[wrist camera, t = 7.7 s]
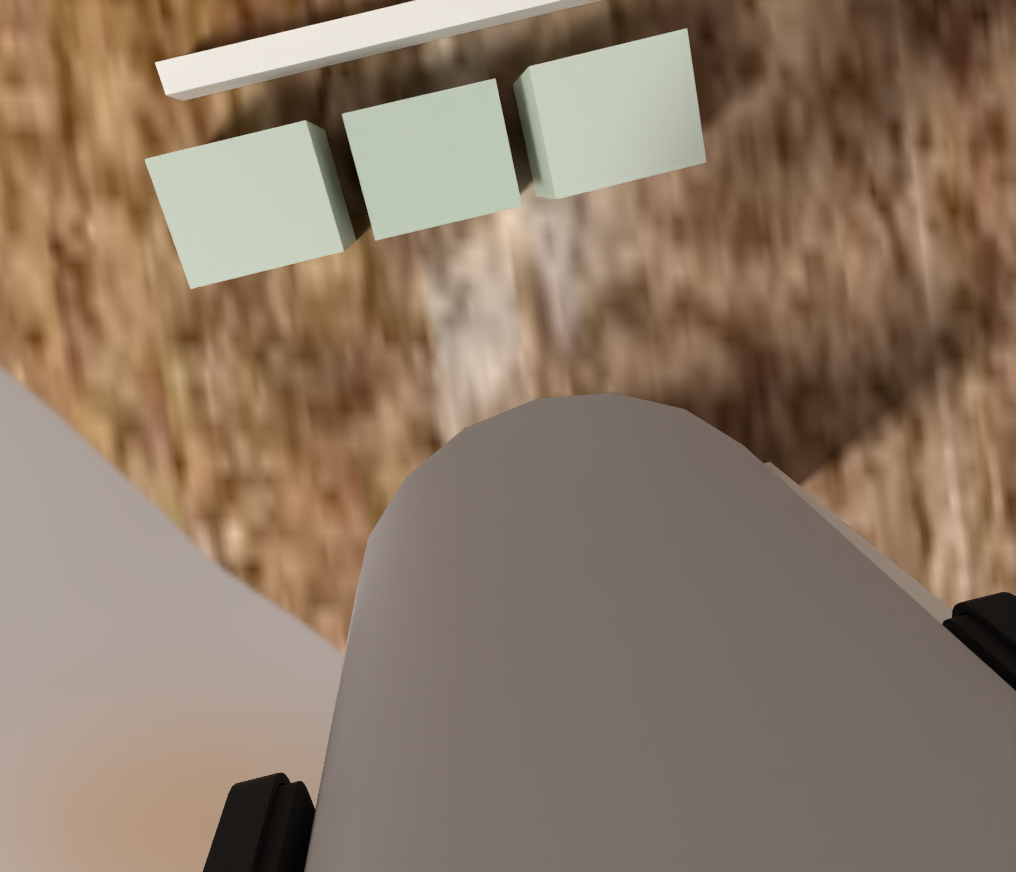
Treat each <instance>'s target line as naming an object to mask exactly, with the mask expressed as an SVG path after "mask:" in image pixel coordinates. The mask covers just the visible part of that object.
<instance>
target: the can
mask: <svg viewBox="0 0 1016 872" xmlns="http://www.w3.org/2000/svg"><path fill="white" fill-rule="evenodd" d="M304 872H1016V691H1015V690H1014V689H1013V688H1012V687H1011V686H1010V685H1008V684H1007V683H1006V682H1005V681H1004V680H1003V679H1002V678H1001V677H1000V676H998V675H997V674H996V673H995V672H994V671H993V670H992V669H991V668H990V667H989V666H987V665H986V664H985V663H984V662H983V661H982V660H981V659H980V658H979V657H977V656H976V655H975V654H974V653H973V652H972V651H971V650H970V649H969V648H967V647H966V646H965V645H964V644H963V643H962V642H961V641H960V640H959V639H957V638H956V637H955V636H954V635H953V634H952V633H951V632H950V631H949V630H948V629H946V628H945V627H944V626H943V625H942V624H941V623H940V622H939V621H938V620H936V619H935V618H934V617H933V616H932V615H931V614H930V613H929V612H928V611H926V610H925V609H924V608H923V607H922V606H921V605H920V604H919V603H918V602H916V601H915V600H914V599H913V598H912V597H911V596H910V595H909V594H908V593H907V592H905V591H904V590H903V589H902V588H901V587H900V586H899V585H898V584H897V583H895V582H894V581H893V580H892V579H891V578H890V577H889V576H888V575H887V574H885V573H884V572H883V571H882V570H881V569H880V568H879V567H878V566H877V565H875V564H874V563H873V562H872V561H871V560H870V559H869V558H868V557H867V556H866V555H864V554H863V553H862V552H861V551H860V550H859V549H858V548H857V547H856V546H854V545H853V544H852V543H851V542H850V541H849V540H848V539H847V538H846V537H844V536H843V535H842V534H841V533H840V532H839V531H838V530H837V529H836V528H834V527H833V526H832V525H831V524H830V523H829V522H828V521H827V520H826V519H825V518H823V517H822V516H821V515H820V514H819V513H818V512H817V511H816V510H815V509H813V508H812V507H811V506H810V505H809V504H808V503H807V502H806V501H805V500H803V499H802V498H801V497H800V496H799V495H798V494H797V493H796V492H795V491H793V490H792V489H791V488H790V487H789V486H788V485H787V484H786V483H785V482H784V481H782V480H781V479H780V478H779V477H778V476H777V475H776V474H775V473H774V472H772V471H771V470H770V469H769V468H768V467H767V466H766V465H765V464H764V463H762V462H761V461H760V460H759V459H758V458H757V457H756V456H755V455H754V454H752V453H751V452H750V451H749V450H748V449H747V448H746V447H745V446H744V445H742V444H740V443H739V442H737V441H735V440H734V439H732V438H731V437H729V436H727V435H726V434H724V433H723V432H721V431H719V430H718V429H716V428H715V427H713V426H711V425H710V424H708V423H707V422H705V421H703V420H702V419H700V418H698V417H697V416H695V415H694V414H692V413H690V412H689V411H687V410H686V409H682V408H678V407H674V406H669V405H665V404H661V403H656V402H652V401H647V400H643V399H639V398H634V397H630V396H626V395H621V394H617V393H602V394H591V395H579V396H568V397H556V398H545V399H535V400H533V401H531V402H528V403H526V404H523V405H521V406H518V407H516V408H513V409H511V410H509V411H506V412H504V413H501V414H499V415H496V416H494V417H491V418H489V419H487V420H484V421H482V422H479V423H477V424H474V425H472V426H469V427H467V428H464V429H463V430H462V431H461V432H460V433H458V434H457V435H456V436H455V437H454V438H452V439H451V440H450V441H449V442H448V443H446V444H445V445H444V446H443V447H441V448H440V449H439V450H438V451H437V452H435V453H434V454H433V455H432V456H431V457H429V458H428V459H427V460H426V461H425V462H423V463H422V464H421V465H420V466H419V467H417V468H416V469H415V470H414V471H413V472H411V473H410V474H409V475H408V476H407V477H406V478H405V480H404V481H403V483H402V484H401V486H400V488H399V489H398V491H397V492H396V494H395V496H394V497H393V499H392V500H391V502H390V504H389V505H388V507H387V508H386V510H385V512H384V513H383V515H382V516H381V518H380V520H379V521H378V523H377V524H376V526H375V528H374V529H373V531H372V532H371V534H370V536H369V538H368V542H367V547H366V551H365V556H364V561H363V565H362V570H361V574H360V579H359V583H358V588H357V592H356V597H355V602H354V607H353V612H352V618H351V623H350V628H349V634H348V639H347V644H346V650H345V655H344V660H343V666H342V671H341V676H340V682H339V687H338V692H337V698H336V703H335V709H334V714H333V719H332V724H331V730H330V735H329V741H328V746H327V751H326V757H325V762H324V767H323V773H322V778H321V783H320V789H319V794H318V800H317V805H316V810H315V815H314V821H313V826H312V831H311V837H310V842H309V847H308V853H307V858H306V864H305V869H304Z"/></svg>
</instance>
